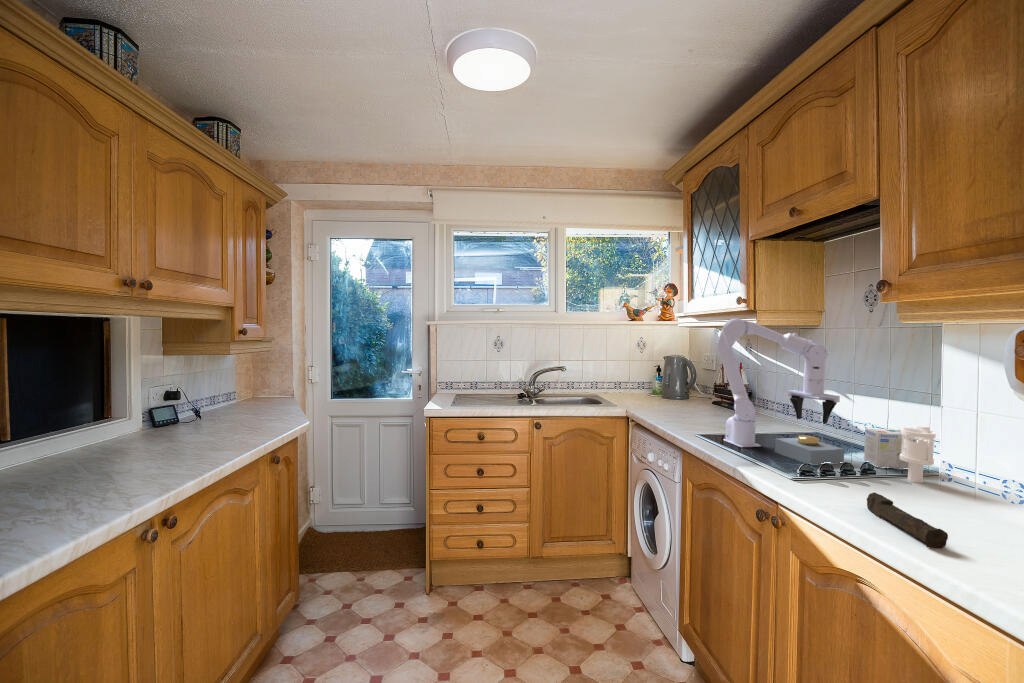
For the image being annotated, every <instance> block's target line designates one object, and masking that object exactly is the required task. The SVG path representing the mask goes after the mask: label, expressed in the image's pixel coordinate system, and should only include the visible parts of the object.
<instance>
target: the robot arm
mask: <svg viewBox="0 0 1024 683" xmlns="http://www.w3.org/2000/svg"><path fill="white" fill-rule="evenodd" d="M744 334H745V335H747V336H748V335H749V336H750V335H757V336H759V337H761V338H765V339H767V340H770V341H773V342H775V343H778V344H779V346H780V348H781V349H782V350H784V351H787V352H790V353H792V354H794V355H796V356H799V357H804V365H803V366H804V367H803V382H802V384H803V385H802V389H803V390H793V389H790V390H788V391H787V397H790V398H789V400H790V403H791V404H792V406H793V410H794V411H795V416H796V419H797V420H802V416H803V405H804V400H805V399H810V400H819V401H822V402H821V403H822V424H828V422H829V418H830V416H831V413H832V412H833V410H834V409H835V406H836V405H837V403H840V402H841V401H840V398H841V396H840V395H835V394H828V393H824V391H825V389H824V388H825V376H826V375H825V373H826V372H825V371H826V367H825V364H826V359H827V358H828V356H829V355H828V354H829V353H828V351H827V348H826V347H825V346H824V345H822V344H819V343H816V342H814V340H813V339H806V338H804V337H800V336H799V334H798V333H796V332H793V333H791V332H788V333H785V334H782V333H779V332H777V331H776V330H772V329H770V328H769V327H765V326H764V325H761V324H758V323H755V322H753V321H748V320H743V319H741V318H731V319H729V320H727V321H726V322H725V324H724V325H723V326H722V328H721V330H720V333H719V337H718V340H717V342H716V348H717V351H718V353H719V354H718V355H719V358H720V360H721V363H722V367H723V369H724V372H725V375H726V378H727V381H728V385H729V388H730V390H731V394H732V397H733V400H734V403H733V409H734V411H735V412H734V413H735V414H734V415H732V416H730V417H729V418H727V420H726V422H725V436H724V437H725V438H723V440H722V441H724V442H726V443H729V444H732V445H734V446H736V447H740V448H755V447H757V448H758V447H759V448H760V447H761V444H759V443H755V442H756V427H757V426H756V425H757V424H756V421H757V419H756V413H757V409H756V407H755V405H754V403H753V402H752V401H751V400H750V398H749V395H748V392H747V390H746V388H745V384H744V381H743V378H742V375H741V372H740V370H739V369H740V368H739V366H738V363H737V360H736V358H735V354H734V352H733V346H734V345H735V344H736V341H737V340H738V339H740V338H741V337H742V336H743V335H744Z"/></svg>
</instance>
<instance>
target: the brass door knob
mask: <svg viewBox="0 0 1024 683" xmlns="http://www.w3.org/2000/svg"><path fill="white" fill-rule="evenodd" d="M797 438H798V443H799V444H802V445H807V446H819V441H820V438H819V437H818V436H813V435H807V434H800V435H797Z"/></svg>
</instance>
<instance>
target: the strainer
mask: <svg viewBox="0 0 1024 683" xmlns="http://www.w3.org/2000/svg"><path fill="white" fill-rule="evenodd" d="M930 429H931V427H930V426H928V425H927V426H926V425H918V426H917V427H916V428H913V427H902V428H900V430H901V433H902V446H901V454H900V456H899V459H901V460H903V461H906V462H909V466H908V470H907V471H908V472H907V481H909V482H911V483H916V484H922V483H923V482H924V481H923V479H924V478H923V477H924V466H933V465H935V464H934V463H935V459H934V446H935V445H934V443H935V438H936V434H937V433H936V432H935V431H931V430H930ZM907 435H908V436H907ZM913 439H914V440H917V442H913Z"/></svg>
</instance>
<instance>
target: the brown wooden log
mask: <svg viewBox="0 0 1024 683" xmlns="http://www.w3.org/2000/svg"><path fill="white" fill-rule="evenodd" d="M866 506H867V509H868V510H869V511H870V512H871V514H873V513H874V514H875V515H874V514H873V515H874V516H876V517H877V518H878V517H879V518H878V519H881V518H883V519H882V520H886V519H887V520H886V521H889V522H890V523H892V524H893V525H895V526H897V527H899V528H900V529H902V530H903V531H905V532H907V533H909V534H910V535H912V536H914V537H915V538H916V539H918V540H919V541H921V542H924V545H925V547H926V548H928V547H930V548H929V549H943V548H945V547H946V545H947V542H948V538H949V535H948V533H947V531H945V530H943V529H942V528H937V527H934V526H932V525H931V524H929V523H928V522H925V521H924V520H923V519H920V518H918V517H915V516H914V515H912V514H910V513H908V512H906V511H904V510H903V509H901V508H899V507H897V506H896V505H894V501H893V500H892V499H889V498H887V497H885V496H884V495H882V494H879V493H877V492H872V493H869V494H868V496H867V497H866Z"/></svg>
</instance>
